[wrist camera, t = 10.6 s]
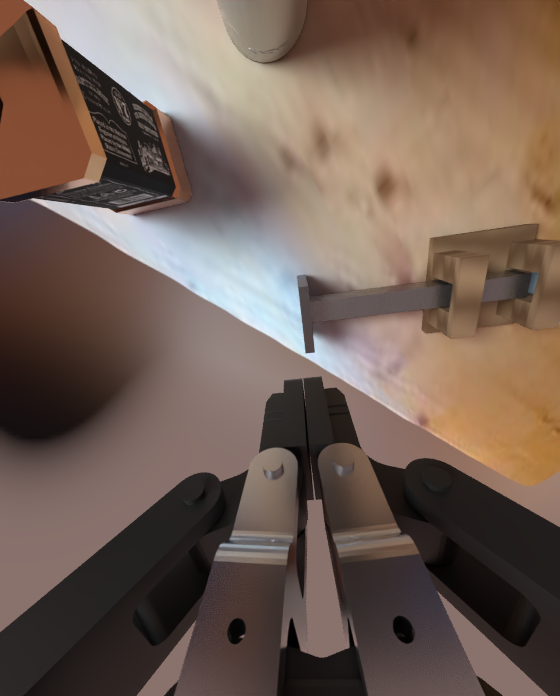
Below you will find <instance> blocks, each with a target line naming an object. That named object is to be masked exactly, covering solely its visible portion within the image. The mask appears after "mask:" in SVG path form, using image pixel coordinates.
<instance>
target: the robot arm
mask: <svg viewBox="0 0 560 696" xmlns="http://www.w3.org/2000/svg"><path fill="white" fill-rule="evenodd" d="M217 3H218V6H219V9H220V12H221V15H222V18H223V21H224V24H225V27H226V30H227V32H228V34H229V36H230V38H231V40H232V42H233V43H234V45H235V46H236V47H237V49H238V50H239V51H240V52H241V53H242V54H244V55H245V56H246V57H248V58H250V59H252V60H253V61H257V62H262V63H264V62H272V61H275V60H278V59H280V58H281V57H283V56H284V55H285V54H287V53H288V52H289V50H290V49H291V48H292V47H293V46H294V44H295V43H296V41H297V39H298V38H299V36H300V33H301V31H302V28H303V26H304V22H305V17H306V13H307V0H217ZM304 390H305V399H304ZM304 390H303V382H302V379H292V380H285V381H284V393H276V394H272V395H271V397H270V398H269V399H268V401H267V402H266V408H265V415H264V422H263V430H262V437H261V443H260V451H259V454H258V455H257V456H256V457H255V458H254V459H253V460H252V462H251V464H250V467H249V469H248V470H247V471H245V472H244V473H242V474H240V475H237V476H235V477H233V478H229V479H227V480H224V481H221V482H220V481H219V479H218V478H217V477H216V476H215V475H213V474H211V473H197V474H194V475H192V476H189V477H188V478H186V479H185V480H183V481H182V482H180V483H179V484H178V485H177V486H176V487H175V488H173V489H172V490H171V491H170V492H168V493H167V494H166V495H165V496H164V497H162V498H161V499H160V500H159V501H158V502H156V503H155V504H154V505H153V506H152V507H150V508H149V509H148V510H147V511H146V512H144V513H143V514H142V515H141V516H140V517H138V518H137V519H136V520H135V521H134V522H132V523H131V524H130V525H129V526H128V527H126V528H125V529H124V530H123V531H122V532H120V533H119V534H118V535H117V536H116V537H114V538H113V539H112V540H111V541H109V542H108V543H107V544H106V545H105V546H103V547H102V548H101V549H100V550H99V551H98V552H96V553H95V554H94V555H93V556H91V557H90V558H89V559H88V560H87V561H86V562H84V563H83V564H82V565H81V566H79V567H78V568H77V569H76V570H75V571H74V572H72V573H71V574H70V575H69V576H67V577H66V578H65V579H64V580H63V581H62V582H60V583H59V584H58V585H57V586H55V587H54V588H53V589H52V590H51V591H49V592H48V593H47V594H46V595H45V596H43V597H42V598H41V599H40V600H39V601H37V602H36V603H35V604H34V605H33V606H31V607H30V608H29V609H28V610H27V611H25V612H24V613H23V614H22V615H21V616H19V617H18V618H17V619H16V620H15V621H13V622H12V623H11V624H10V625H9V626H7V627H6V628H5V629H4V630H3V631H1V632H0V696H137V694H138V693H139V692H140V690H141V689H142V688H143V686H144V685H145V684H146V683H147V681H148V680H149V679H150V678H151V676H152V675H153V674H154V673H155V671H156V670H157V669H158V668H159V666H160V665H161V664H162V662H163V661H164V660H165V659H166V657H167V656H168V655H169V653H170V652H171V651H172V650H173V648H174V647H175V646H176V645H177V643H178V642H179V641H180V640H181V638H182V637H183V636H184V634H185V633H186V632H187V631H188V629H189V628H190V627H191V625H192V624H193V623H194V622H195V620H196V622H195V626H194V629H193V632H192V636H191V639H190V643H189V646H188V650H187V653H186V656H185V660H184V663H183V667H182V670H181V673H180V677H179V680H178V682H177V683H176V684H174V685H173V687H172V688H170V689H169V691H168V692H167V693H166V694H165V695H164V696H502V695H501V694H500V693H499V692H498V691H496V690H495V689H494V688H492V687H491V686H490V685H489V684H487V683H486V682H485V681H484V680H482V679H481V678H479V677H478V676H476V674H475V672H474V670H473V668H472V666H471V664H470V661H469V659H468V657H467V655H466V653H465V651H464V648H463V646H462V644H461V642H460V640H459V638H458V635H457V633H456V631H455V629H454V627H453V625H452V622H451V620H450V618H449V616H448V614H447V612H446V610H445V607H444V605H443V603H442V601H441V599H440V596H439V594H438V592H439V593H440V594H441V595H442V596H443V597H444V598H445V599H447V600H448V601H449V602H450V603H451V604H452V605H453V606H454V607H455V608H456V609H457V610H458V611H459V612H460V613H461V614H462V615H464V616H465V617H466V618H467V619H468V620H469V621H470V622H471V623H472V624H473V625H474V626H475V627H476V628H477V629H478V630H479V631H480V632H482V633H483V634H484V635H485V636H486V637H487V638H488V639H489V640H490V641H491V642H492V643H494V645H495V646H496V647H498V648H499V649H500V650H501V651H502V652H503V653H504V654H505V655H506V656H507V657H508V658H509V659H510V660H511V661H512V662H513V663H514V664H515V665H517V666H518V667H519V668H520V669H521V670H522V671H523V672H524V673H525V674H526V675H527V676H528V677H529V678H530V679H531V680H532V681H534V682H535V683H536V684H537V685H538V686H539V687H540V688H541V689H542V690H543V691H544V692H545V693H546V694H547V695H548V696H560V527H558V526H556V525H555V524H553V523H551V522H549V521H548V520H546V519H544V518H542V517H540V516H539V515H537V514H535V513H533V512H531V511H530V510H528V509H526V508H524V507H523V506H521V505H519V504H517V503H516V502H514V501H512V500H510V499H509V498H507V497H505V496H503V495H502V494H500V493H498V492H496V491H495V490H493V489H491V488H489V487H488V486H486V485H484V484H482V483H481V482H479V481H477V480H475V479H473V478H472V477H470V476H468V475H466V474H465V473H463V472H461V471H459V470H457V469H456V468H454V467H452V466H451V465H449V464H447V463H444V462H442V461H439V460H435V459H429V458H423V459H417V460H414V461H412V462H411V463H410V464H408V466H407V467H406V469H402V468H397V467H392V466H387V465H384V464H381V463H378V462H376V461H374V460H372V459H371V458H370V457H368V456H367V455H366V454H365V452H364V451H363V450H362V449H361V447H360V444H359V441H358V438H357V434H356V431H355V428H354V425H353V422H352V419H351V415H350V412H349V409H348V406H347V403H346V399H345V396H344V394H343V393H341V392H340V391H339V390H338V389H337V388H328V389H324V387H323V382H322V377H312V378H304ZM305 403H306V406H305ZM310 457H311V461H310ZM311 465H312V473H313V481H314V489H315V497H316V500H317V499H322V504H323V514H324V522H325V530H326V535H327V540H328V546H329V551H330V557H331V562H332V567H333V573H334V577H335V584H336V589H337V594H338V600H339V606H340V611H341V617H342V625H343V630H344V637H345V643H346V649H345V650H343V651H340V652H338V653H336V654H333V655H331V656H328V657H325V658H319V657H315V656H313V655H310V654H308V634H307V633H308V632H307V615H306V578H307V520H308V510H307V500H313V499H314V497H313V485H312V473H311ZM437 591H438V592H437Z"/></svg>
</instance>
